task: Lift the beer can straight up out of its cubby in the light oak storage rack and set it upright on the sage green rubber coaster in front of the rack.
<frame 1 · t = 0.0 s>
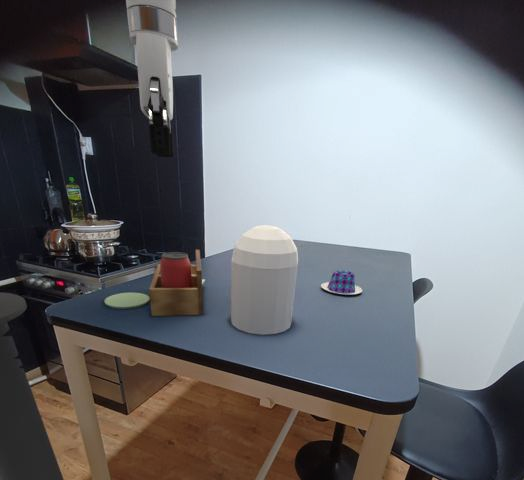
hand: (163, 155, 59), 30 cm above the table, tool pointing down, fingers open, 9 cm apart
pudding: (340, 290, 93), on the table
container: (261, 322, 70), on the table
coaster: (127, 301, 76), on the table
beer can: (178, 307, 75), resting in rack
rack: (179, 299, 79), on the table
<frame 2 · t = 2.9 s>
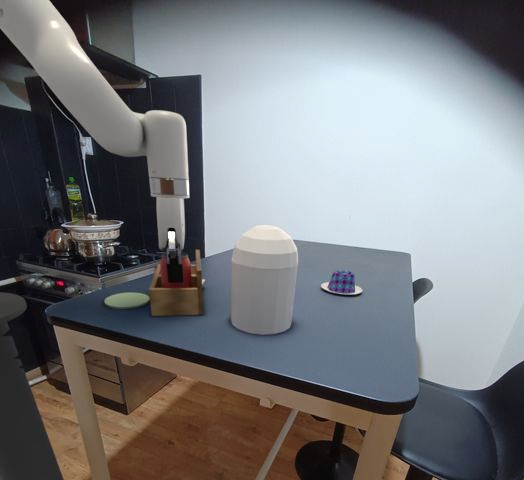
hand: (176, 276, 71), 7 cm above the table, tool pointing down, fingers closed on beer can, 6 cm apart
beer can: (178, 307, 75), resting in rack, touching gripper
everything else where it was.
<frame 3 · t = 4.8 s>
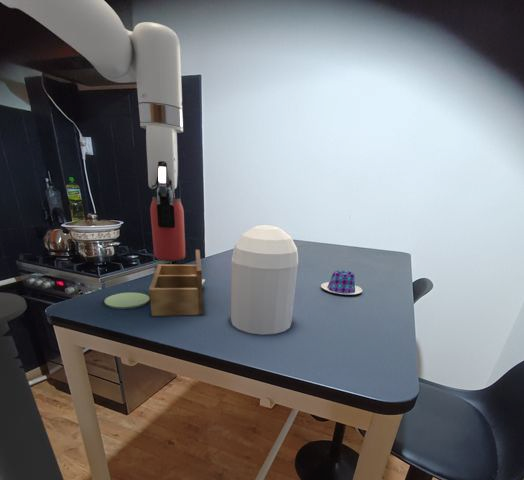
hand: (168, 223, 66), 18 cm above the table, tool pointing down, fingers closed on beer can, 6 cm apart
beer can: (170, 259, 69), point 11 cm above the table, touching gripper
everything else where it was.
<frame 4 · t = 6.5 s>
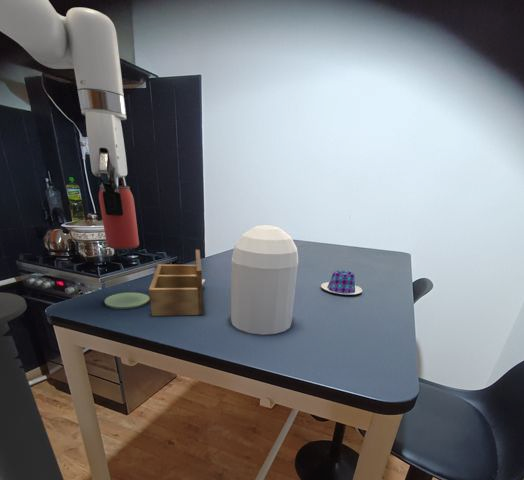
hand: (118, 212, 66), 20 cm above the table, tool pointing down, fingers closed on beer can, 6 cm apart
beer can: (123, 248, 70), point 12 cm above the table, touching gripper
everything else where it was.
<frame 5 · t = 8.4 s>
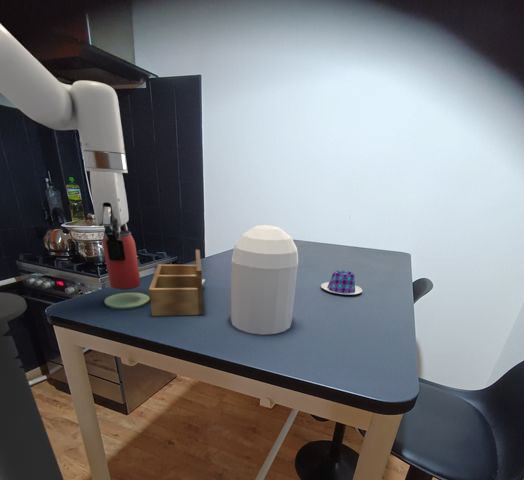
hand: (120, 255, 71), 11 cm above the table, tool pointing down, fingers closed on beer can, 6 cm apart
beer can: (126, 287, 74), point 4 cm above the table, touching gripper
everything else where it was.
when the fingers open (8 cm above the table, at t = 9.9 s): beer can stays where it is, resting on coaster.
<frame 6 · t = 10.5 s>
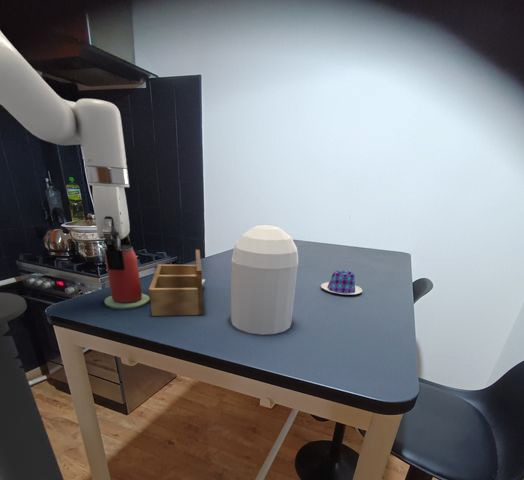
hand: (121, 263, 72), 9 cm above the table, tool pointing down, fingers open, 9 cm apart
beer can: (127, 300, 76), resting on coaster
everything else where it was.
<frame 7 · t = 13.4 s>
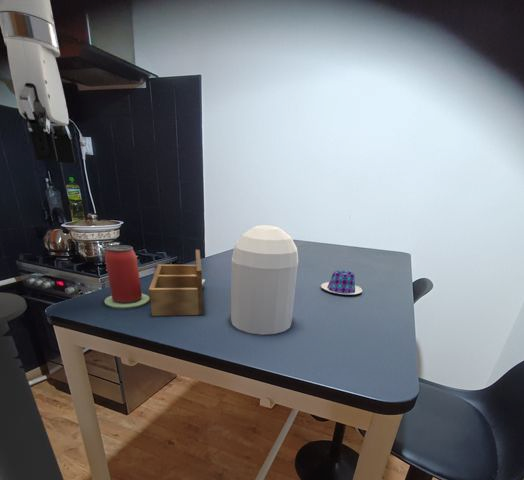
hand: (57, 161, 59), 28 cm above the table, tool pointing down, fingers open, 9 cm apart
nothing on the table moved.
at the end: beer can inside the target area (0.0 cm from its centre), resting on coaster; beer can tilted 0°; beer can touching coaster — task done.
